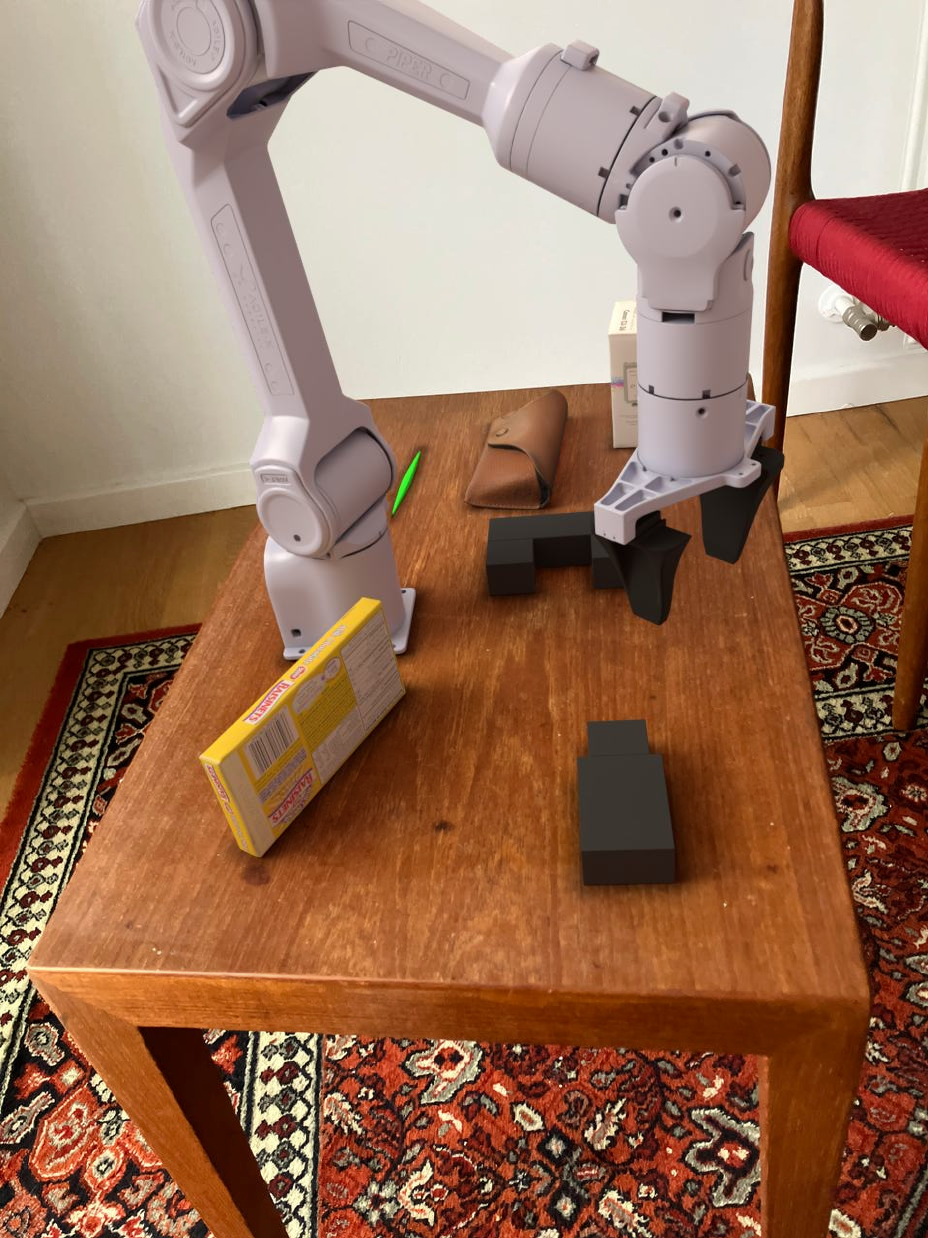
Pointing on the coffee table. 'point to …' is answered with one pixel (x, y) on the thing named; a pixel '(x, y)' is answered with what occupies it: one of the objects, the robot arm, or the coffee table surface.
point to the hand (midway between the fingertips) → (687, 586)
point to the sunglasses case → (521, 456)
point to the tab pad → (623, 808)
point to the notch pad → (543, 551)
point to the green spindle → (406, 482)
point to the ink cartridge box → (624, 374)
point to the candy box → (305, 727)
